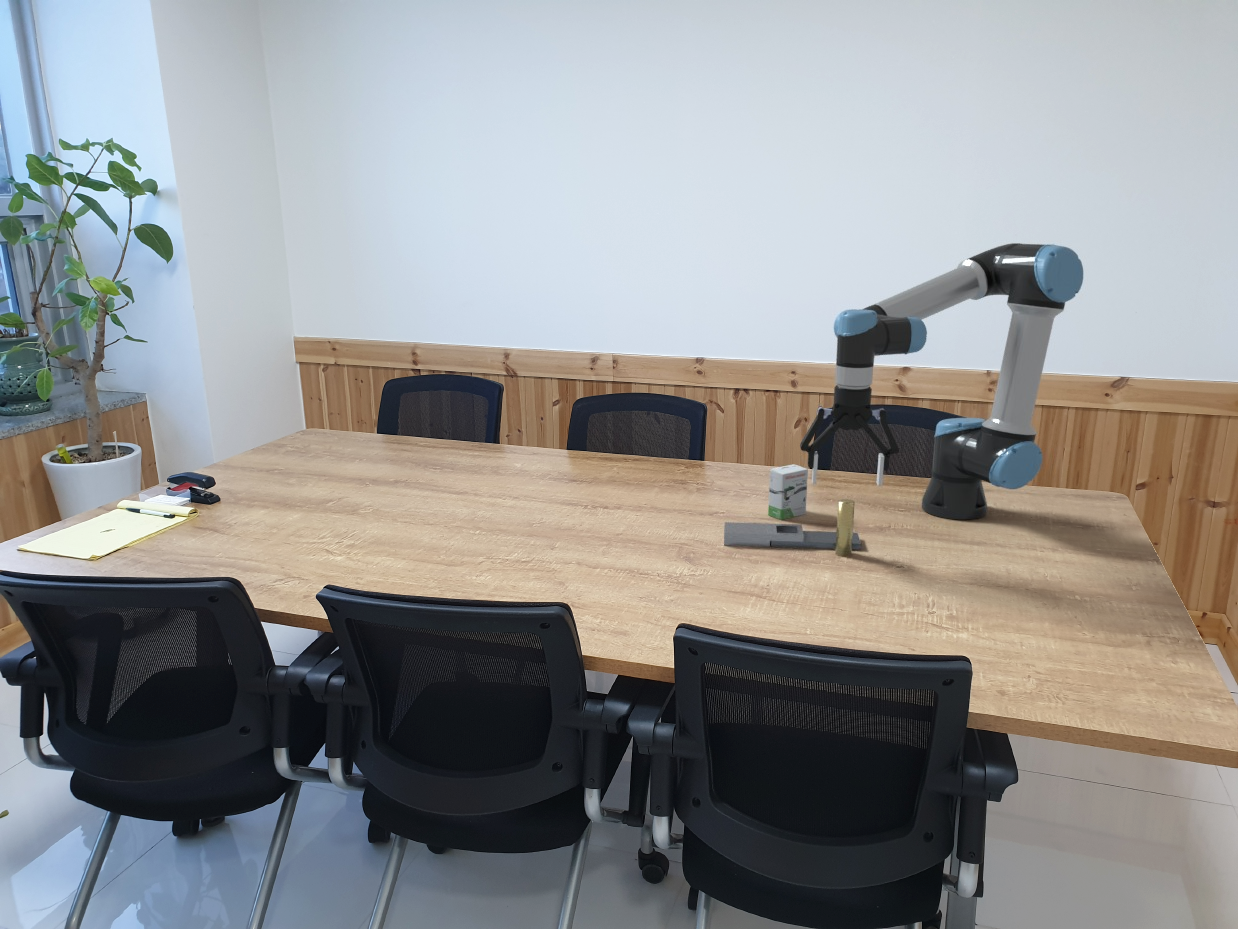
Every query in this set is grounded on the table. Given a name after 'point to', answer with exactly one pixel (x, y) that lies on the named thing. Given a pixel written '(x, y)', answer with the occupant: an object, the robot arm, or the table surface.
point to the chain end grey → (760, 533)
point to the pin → (844, 527)
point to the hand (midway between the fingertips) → (846, 483)
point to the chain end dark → (817, 541)
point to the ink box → (787, 491)
